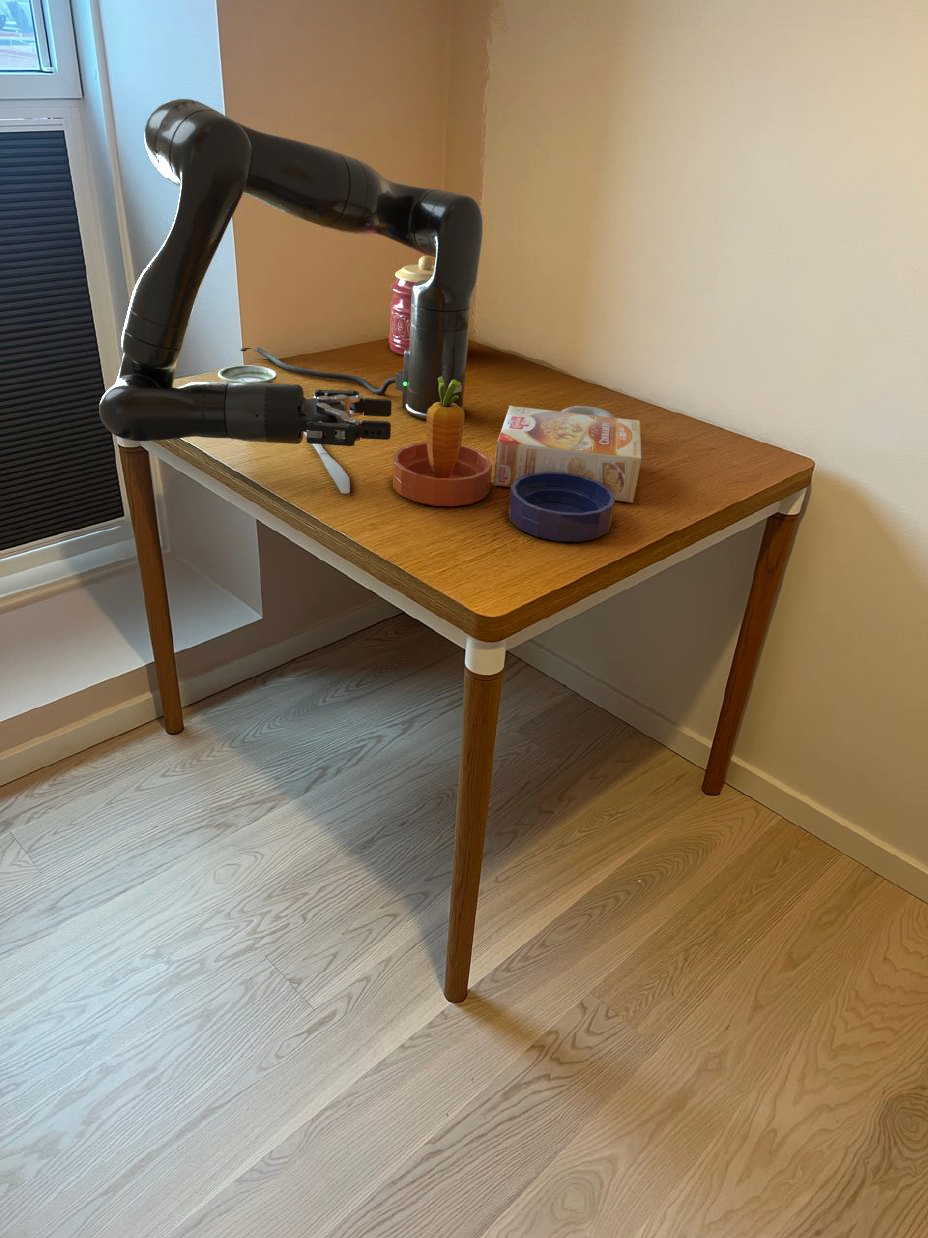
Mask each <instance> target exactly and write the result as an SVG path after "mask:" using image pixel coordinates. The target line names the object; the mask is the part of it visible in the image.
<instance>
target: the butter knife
mask: <svg viewBox="0 0 928 1238" xmlns="http://www.w3.org/2000/svg"><path fill="white" fill-rule="evenodd" d="M303 435H305V437H306V438H307V432H304V434H303ZM311 445H312V446H313V448H314V449H315V451H316V452H317V454H318V455H319V458H320V459H321V461H322V463H323V465H324V467H325V468H326V471H327V472H328V474H329V476H330V477H331V479H332V480H333V481H334V483H335V484H336V486H337V488H338V490H339V492H340V494H344V495H349V494H350V491H351V481H350V477H349V476H348V474H347V472H346V471H345V469H343V468H342V466H341V465H340V463H338V462H337V461H336V460H334V459H333V458H332V457H331V456H330V455H329V453H328V452H327V451H326V450H325V449H324V448H323V446H322V445H323V444H311Z"/></svg>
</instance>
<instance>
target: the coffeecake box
mask: <svg viewBox="0 0 928 1238" xmlns="http://www.w3.org/2000/svg"><path fill="white" fill-rule="evenodd" d="M641 440H642V439H641V420H640V419H639V420H637V419H628V418H618V417H615V418H610V417H602V416H593V415H584V414H576V413H567V412H561V411H559V410H552V409H551V410H549V409H541V408H534V407H524V406H515V405H511V404H510V405H509V406H508V409H507V413H506V415H505V418H504V421H503V424H502V427H501V430H500V433H499V436H498V438H497V441H496V447H495V454H494V455H495V456H494V457H495V458H494V478H493V487H503V488H511V485H512V484H513V483H514V481H515V480H516V479H517V478H519V477H522V476H524V475H527V474H531V473H538V472H565V473H571V474H576V475H581V476H585V477H587V478H590V479H593V480H596V481H598V482H600V483H602V484H603V485H605V486H606V487H608V488H609V489H611V491H612V493H613V495H614V496H615V502H616V501H617V502H624V503H631V504H634V499H635V495H636V491H637V486H638V481H639V475H640V469H641V464H642V441H641Z"/></svg>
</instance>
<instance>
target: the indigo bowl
mask: <svg viewBox="0 0 928 1238" xmlns="http://www.w3.org/2000/svg"><path fill="white" fill-rule="evenodd" d="M509 488H510V489H509V498H508V506H507V507H508V508H507V514H508V517H509V518H508V519H509V521H510V522H511V523H512V524H513V525H515V526H516V527H517V529H519V530H520V531H522V532H524V533H527V534H530V535H532V536H534V537H537V538H541V539H545V540H551V541H554V542H570V543H571V542H574V543H575V542H577V543H578V542H579V543H580V542H586V541H591V540H595V539H596V540H597V539H598V538H600V537H602V536H604V535H605V534H607V533H608V532H609V530H610V527H611V526H612V522H613V515H614V510H615V504H616V500H615V496H614V495H613V493H612V491H611V489H609V488H608V487H606V486H605V485H603V484H602V483H600V482H598V481H596V480H593V479H590V478H587V477H585V476H581V475H576V474H571V473H565V472H538V473H531V474H527V475H524V476H522V477H519V478H517V479H516V480H515V481H514V483H513V484H512V485H511V487H509Z"/></svg>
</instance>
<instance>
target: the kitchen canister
mask: <svg viewBox="0 0 928 1238" xmlns="http://www.w3.org/2000/svg"><path fill="white" fill-rule="evenodd" d="M434 267H435V265H433V260H432V257H431V256H429V255H423V256H420V258H419V259H418V264H417V263H416V264H408V265H404V266H403V267H402V268H401V269H398V270H397V271H396V272H394V275H395V277H396V280H395V281H394V282H393V283H391V284H390V286H389V288H390V290H391V292H392V300H391V301H390V303H389V307H390V318H389V320H390V321H389V334H388V343H389V349H390V350H391V351H392V352H393V353H395V354H398V355H401V356H404V352H405V350H407V349H409V343H410V317H411V293H412V287H413V285H414V284H415V283H416V282H418V281H420V280H425V279H429V278H431V277H432V275H433V272H434Z"/></svg>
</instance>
